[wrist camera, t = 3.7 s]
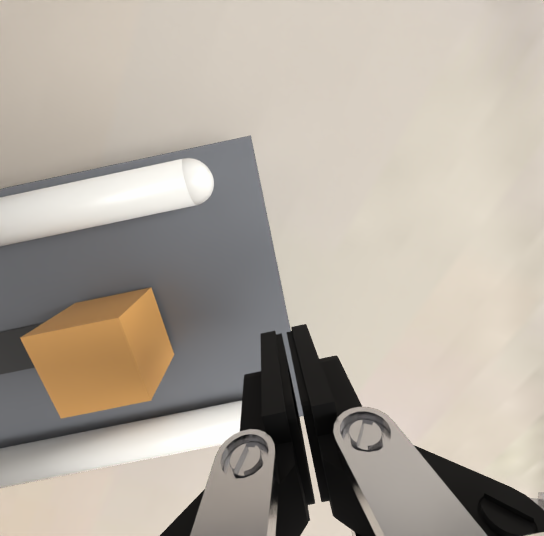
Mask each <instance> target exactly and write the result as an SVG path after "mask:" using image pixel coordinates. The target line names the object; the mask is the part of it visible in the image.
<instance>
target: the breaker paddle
mask: <svg viewBox="0 0 544 536" xmlns="http://www.w3.org/2000/svg"><path fill="white" fill-rule="evenodd" d="M20 339H21V341H22V343H23V345H24V347H25V349H26V351H27V353H28V355H29V357H30V359H31V361H32V363H33V365H34V367H35V368H36V370H37V372H38V374H39V376H40V378H41V380H42V382H43V384H44V386H45V388H46V390H47V392H48V394H49V396H50V398H51V400H52V402H53V404H54V406H55V408H56V410H57V412H58V414H59V416H60V418H61V419H62V418H67V417H72V416H77V415H82V414H87V413H92V412H97V411H102V410H107V409H112V408H117V407H122V406H127V405H132V404H137V403H142V402H147V401H151V400H152V398H153V396H154V394H155V392H156V390H157V388H158V386H159V384H160V382H161V380H162V378H163V376H164V374H165V372H166V370H167V368H168V366H169V364H170V362H171V360H172V358H173V356H174V352H173V349H172V346H171V343H170V340H169V338H168V335H167V332H166V329H165V326H164V323H163V320H162V317H161V314H160V311H159V308H158V305H157V302H156V299H155V297H154V294H153V291H152V288H151V287H150V288H145V289H141V290H136V291H131V292H126V293H121V294H116V295H111V296H107V297H102V298H97V299H92V300H87V301H82V302H77V303H74V304H73V305H71V306H70V307H68V308H66V309H65V310H63V311H62V312H60V313H59V314H57V315H55V316H54V317H52V318H51V319H49V320H47V321H46V322H44V323H43V324H41V325H40V326H38V327H36V328H35V329H33V330H32V331H30V332H28V333H27V334H25V335H24V336H22V337H21V338H20Z"/></svg>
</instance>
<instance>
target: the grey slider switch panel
mask: <svg viewBox="0 0 544 536" xmlns="http://www.w3.org/2000/svg"><path fill="white" fill-rule="evenodd" d="M185 158H192V159H196V160H199V161H201V162H202V163H204V164H205V165H206V166H207V167H208V168H209V170H210V171H211V173H212V175H213V179H214V188H213V192H212V194H211V196H210V197H209V198H208V199H207V200H206V201H205V202H203V203H202V204H199V205H195V206H191V207H186V208H181V209H176V210H172V211H167V212H162V213H157V214H153V215H148V216H143V217H138V218H134V219H129V220H124V221H119V222H114V223H110V224H105V225H100V226H95V227H91V228H86V229H81V230H76V231H72V232H67V233H62V234H57V235H53V236H48V237H43V238H38V239H34V240H29V241H24V242H19V243H14V244H10V245H5V246H0V448H5V447H10V446H15V445H20V444H25V443H30V442H35V441H40V440H45V439H50V438H55V437H60V436H65V435H70V434H75V433H80V432H85V431H90V430H95V429H100V428H105V427H110V426H115V425H120V424H126V423H131V422H136V421H141V420H146V419H151V418H156V417H161V416H166V415H171V414H176V413H181V412H186V411H191V410H196V409H201V408H206V407H211V406H216V405H221V404H226V403H231V402H236V401H241V400H242V395H243V382H244V375H245V374H249V373H254V372H259V371H261V338H260V334H261V333H266V332H270V331H276V334H280V333H282V337H283V341H284V346H285V351H286V355H287V360H288V365H289V369H290V374H291V379H292V383H293V388H294V393H295V397H296V402H297V407H298V413H299V417H300V416H304V415H303V411H302V406H301V401H300V396H299V391H298V386H297V381H296V376H295V372H294V367H293V362H292V357H291V352H290V347H289V342H288V337H287V332H290V331H291V330H290V325H289V320H288V315H287V311H286V306H285V301H284V296H283V291H282V286H281V281H280V276H279V271H278V266H277V262H276V257H275V252H274V247H273V242H272V237H271V232H270V227H269V222H268V218H267V213H266V208H265V203H264V198H263V193H262V188H261V183H260V178H259V173H258V169H257V164H256V159H255V154H254V149H253V144H252V139H251V136H247V137H242V138H237V139H232V140H228V141H223V142H218V143H214V144H209V145H204V146H200V147H195V148H190V149H186V150H181V151H176V152H172V153H167V154H162V155H157V156H153V157H148V158H143V159H139V160H134V161H129V162H125V163H120V164H115V165H111V166H106V167H101V168H96V169H92V170H87V171H82V172H78V173H73V174H68V175H64V176H59V177H54V178H50V179H45V180H40V181H35V182H31V183H26V184H21V185H17V186H12V187H7V188H3V189H0V198H1V197H5V196H10V195H15V194H19V193H24V192H29V191H33V190H38V189H43V188H48V187H52V186H57V185H62V184H66V183H71V182H76V181H80V180H85V179H90V178H95V177H99V176H104V175H109V174H113V173H118V172H123V171H127V170H132V169H137V168H142V167H146V166H151V165H156V164H160V163H165V162H170V161H174V160H179V159H185ZM150 287H151V288H152V291H153V294H154V297H155V299H156V302H157V305H158V308H159V311H160V314H161V317H162V320H163V323H164V326H165V329H166V332H167V335H168V338H169V340H170V343H171V346H172V349H173V352H174V356H173V358H172V360H171V362H170V364H169V366H168V368H167V370H166V372H165V374H164V376H163V378H162V380H161V382H160V384H159V386H158V388H157V390H156V392H155V394H154V396H153V398H152V400H151V401H147V402H142V403H137V404H132V405H127V406H122V407H117V408H112V409H107V410H102V411H97V412H92V413H87V414H82V415H77V416H72V417H67V418H62V419H61V418H60V416H59V414H58V412H57V410H56V408H55V406H54V404H53V402H52V400H51V398H50V396H49V394H48V392H47V390H46V388H45V386H44V384H43V382H42V380H41V378H40V376H39V374H38V372H37V370H36V368H35V367H34V365H33V363H32V361H31V359H30V357H29V355H28V353H27V351H26V349H25V347H24V345H23V343H22V341H21V339H20V338H21V337H22V336H24V335H25V334H27V333H28V332H30V331H32V330H33V329H35V328H36V327H38V326H40V325H41V324H43V323H44V322H46V321H47V320H49V319H51V318H52V317H54V316H55V315H57V314H59V313H60V312H62V311H63V310H65V309H66V308H68V307H70V306H71V305H73V304H74V303H77V302H82V301H87V300H92V299H97V298H102V297H107V296H111V295H116V294H121V293H126V292H131V291H136V290H141V289H145V288H150Z"/></svg>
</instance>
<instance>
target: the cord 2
mask: <svg viewBox="0 0 544 536" xmlns="http://www.w3.org/2000/svg"><path fill="white" fill-rule="evenodd" d="M241 408H242V400H241V401H236V402H231V403H226V404H221V405H216V406H211V407H206V408H201V409H196V410H191V411H186V412H181V413H176V414H171V415H166V416H161V417H156V418H151V419H146V420H141V421H136V422H131V423H126V424H120V425H115V426H110V427H105V428H100V429H95V430H90V431H85V432H80V433H75V434H70V435H65V436H60V437H55V438H50V439H45V440H40V441H35V442H30V443H25V444H20V445H15V446H10V447H5V448H0V488H4V487H9V486H14V485H19V484H24V483H29V482H34V481H39V480H44V479H50V478H55V477H60V476H65V475H70V474H75V473H80V472H85V471H90V470H95V469H101V468H106V467H111V466H116V465H121V464H126V463H131V462H136V461H141V460H146V459H152V458H157V457H162V456H167V455H172V454H177V453H182V452H187V451H192V450H197V449H202V448H208V447H213V446H218V445H222V444H223V443H224V442H225V441H226V440H227V439H228V438H230V437H231V436H232V435H234V434H236V433H238V432H240V421H241Z"/></svg>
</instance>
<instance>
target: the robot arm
mask: <svg viewBox="0 0 544 536" xmlns="http://www.w3.org/2000/svg"><path fill="white" fill-rule="evenodd" d="M291 328H292V331H290V332H287V337H288V342H289V347H290V352H291V357H292V362H293V367H294V372H295V376H296V381H297V386H298V391H299V396H300V401H301V406H302V411H303V415H304V420H305V425H306V430H307V435H308V439H309V444H310V449H311V454H312V458H313V463H314V468H315V473H316V478H317V482H318V487H319V492H320V497H321V501H322V502H325V501H330V505H331V509H332V514H333V516H334V517H335V518H336V519H338V520H339V521H340V522H342V523H343V524H345V525H346V526H347V527H349V528H350V529H351V532H352V536H544V493H541V492H539V493H538V499H532V498H529V497H527V496H526V495H524V494H523V493H521V492H519V491H517V490H515V489H513V488H512V487H509V486H507V485H505V484H503V483H500V482H498V481H496V480H493V479H491V478H489V477H486V476H484V475H482V474H479V473H477V472H475V471H472V470H470V469H468V468H465V467H463V466H461V465H459V464H456V463H454V462H452V461H449V460H447V459H445V458H442V457H440V456H438V455H435V454H433V453H431V452H428V451H426V450H424V449H421V448H419V447H417V446H414V445H413V444H412V443H411V442H410V440H409V439H408V438H407V437H406V436H405V434H404V433H403V432H402V431H401V429H400V428H399V427H398V426H397V425H396V423H395V422H394V421H393V420H392V419H391V418H390V417H389V416H388V415H387V414H385V413H383V412H381V411H380V410H378V409H374V408H370V407H362V405H361V403H360V401H359V399H358V397H357V395H356V393H355V391H354V389H353V387H352V385H351V383H350V381H349V379H348V377H347V375H346V373H345V371H344V368H343V366H342V364H341V362H340V360H339V358H338V357H337V356H332V357H327V358H322V359H319V358H318V355H317V352H316V350H315V347H314V344H313V342H312V339H311V336H310V333H309V331H308V328H307V325H306V324H304V325H299V326H295V327H291ZM260 338H261V371H259V372H254V373H249V374H245V375H244V382H243V395H242V408H241V421H240V432H238V433H236V434H234V435H232V436H231V437H230V438H228V439H227V440H226V441H225V442H224V443H223V444H222V445H221V447H220V448H219V450H218V452H217V454H216V456H215V459H214V462H213V465H212V468H211V472H210V475H209V478H208V481H207V484H206V487H205V489H204V490H203V491H202V492H201V494H200V495H199V496H198V497H197V498H196V499H195V500H194V501H193V502H192V503H191V504H190V505H189V506H188V507H187V508H186V509H185V510H184V511H183V512H182V513H181V514H180V515H179V516H178V517H177V518H176V519H175V520H174V522H173V523H172V524H171V525H170V526H169V527H168V528H167V529H166V530H165V531H164V532H163V533H162V534H161V535H160V536H300V535H301V533H302V532H303V530H304V528H305V527H306V525H307V524H308V521H310V518H309V511H308V505H310V504H315V500H314V494H313V489H312V483H311V478H310V473H309V467H308V462H307V456H306V451H305V445H304V440H303V435H302V429H301V424H300V418H299V413H298V407H297V402H296V397H295V393H294V388H293V383H292V379H291V374H290V369H289V365H288V360H287V355H286V351H285V346H284V341H283V337H282V333H280V334H276V331H270V332H266V333H261V334H260Z"/></svg>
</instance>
